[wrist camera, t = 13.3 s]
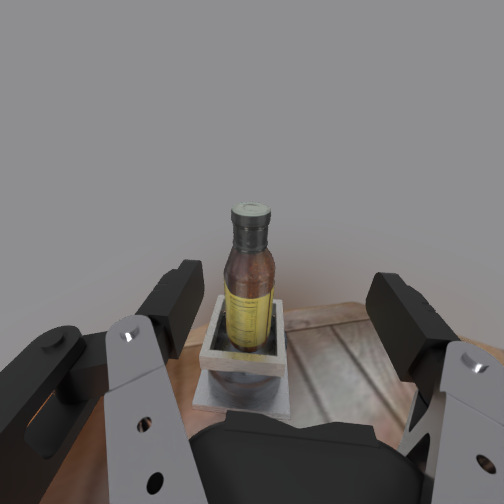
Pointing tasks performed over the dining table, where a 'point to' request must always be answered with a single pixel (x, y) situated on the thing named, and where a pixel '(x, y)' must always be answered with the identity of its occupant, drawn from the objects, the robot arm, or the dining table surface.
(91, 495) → the dining table surface
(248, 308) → the sauce bottle
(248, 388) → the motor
